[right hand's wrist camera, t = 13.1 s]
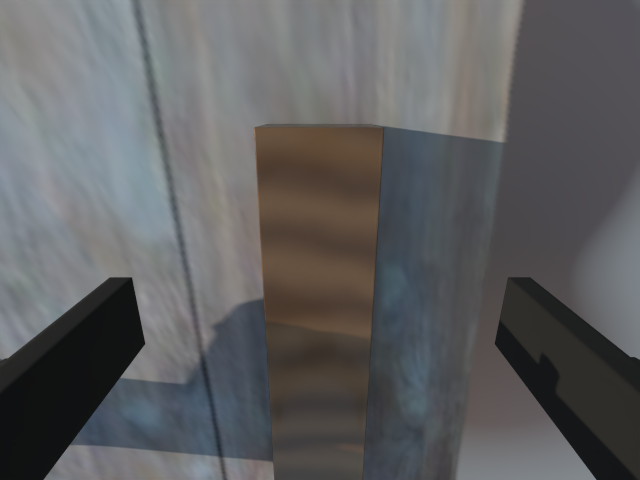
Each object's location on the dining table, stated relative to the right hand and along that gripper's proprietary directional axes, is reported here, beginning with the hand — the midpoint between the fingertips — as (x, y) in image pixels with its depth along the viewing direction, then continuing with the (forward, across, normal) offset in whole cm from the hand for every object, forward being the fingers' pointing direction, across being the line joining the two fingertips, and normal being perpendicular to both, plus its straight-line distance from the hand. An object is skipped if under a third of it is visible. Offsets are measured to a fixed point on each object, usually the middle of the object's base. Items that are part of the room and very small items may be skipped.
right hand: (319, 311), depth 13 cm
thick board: (+24, 0, -21) cm, 32 cm away
